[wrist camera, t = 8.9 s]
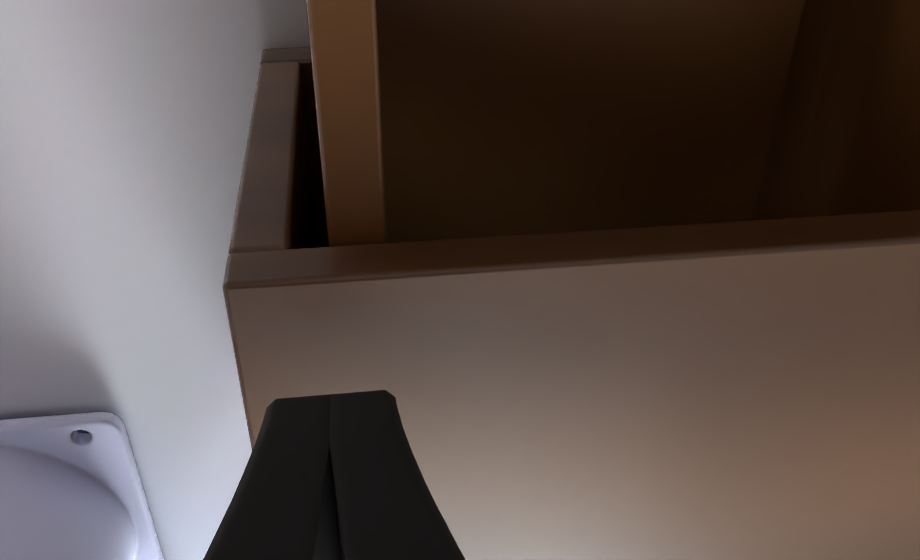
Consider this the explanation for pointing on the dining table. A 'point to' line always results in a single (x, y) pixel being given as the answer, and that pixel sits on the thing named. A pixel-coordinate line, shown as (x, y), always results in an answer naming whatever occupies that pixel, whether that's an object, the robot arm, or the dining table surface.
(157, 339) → the dining table surface
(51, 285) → the dining table surface
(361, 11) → the drawer
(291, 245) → the cabinet
